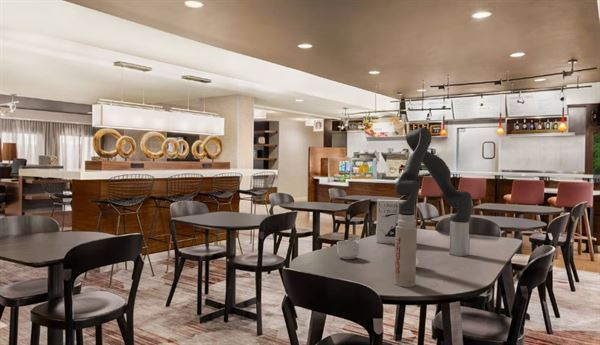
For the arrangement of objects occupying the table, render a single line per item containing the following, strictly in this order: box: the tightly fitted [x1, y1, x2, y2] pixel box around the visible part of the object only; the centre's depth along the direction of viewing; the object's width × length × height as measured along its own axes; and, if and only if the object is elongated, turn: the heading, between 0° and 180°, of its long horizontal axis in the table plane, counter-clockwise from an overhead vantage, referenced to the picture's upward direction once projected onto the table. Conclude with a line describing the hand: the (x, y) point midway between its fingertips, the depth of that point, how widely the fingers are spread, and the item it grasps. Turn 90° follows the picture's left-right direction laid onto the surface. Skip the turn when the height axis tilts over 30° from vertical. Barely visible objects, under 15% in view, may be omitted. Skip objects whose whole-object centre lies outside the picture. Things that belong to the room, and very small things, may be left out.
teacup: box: [336, 239, 360, 260], centre depth 223 cm, size 14×11×8 cm
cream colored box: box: [416, 252, 420, 266], centre depth 205 cm, size 7×7×8 cm
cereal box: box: [375, 199, 416, 245], centre depth 268 cm, size 22×8×25 cm, turn 81°
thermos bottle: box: [393, 212, 418, 288], centre depth 176 cm, size 8×8×28 cm
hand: (405, 260), depth 206 cm, fingers open, 8 cm apart
